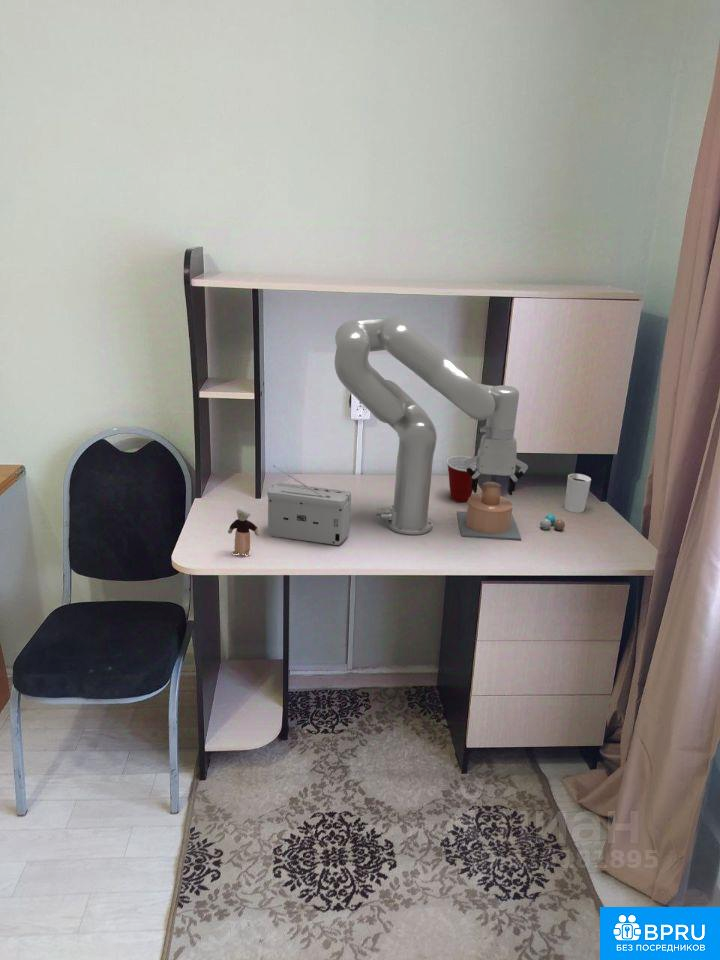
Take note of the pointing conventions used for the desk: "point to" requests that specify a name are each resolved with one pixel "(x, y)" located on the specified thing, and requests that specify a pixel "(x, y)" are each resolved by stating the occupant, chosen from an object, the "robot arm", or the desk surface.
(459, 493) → the plastic cup
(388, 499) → the desk surface
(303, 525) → the stereo radio cassette player
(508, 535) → the slate mat
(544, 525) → the grey marble
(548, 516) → the teal marble
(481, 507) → the terracotta cover
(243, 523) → the grandmother figurine
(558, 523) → the dark brown marble
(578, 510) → the white cylinder
